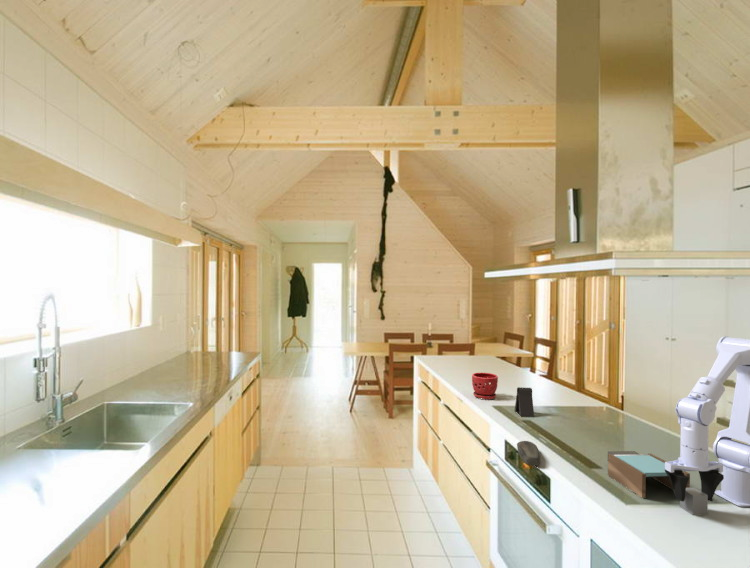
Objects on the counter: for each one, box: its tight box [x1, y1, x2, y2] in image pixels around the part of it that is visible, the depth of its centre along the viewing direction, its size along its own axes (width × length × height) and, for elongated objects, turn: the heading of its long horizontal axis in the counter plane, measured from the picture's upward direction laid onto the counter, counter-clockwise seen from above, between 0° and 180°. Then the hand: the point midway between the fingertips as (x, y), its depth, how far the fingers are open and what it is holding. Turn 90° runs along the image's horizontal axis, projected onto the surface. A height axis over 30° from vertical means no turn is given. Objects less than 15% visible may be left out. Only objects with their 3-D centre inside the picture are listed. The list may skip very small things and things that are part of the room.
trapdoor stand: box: [607, 453, 691, 499], centre depth 119 cm, size 14×14×6 cm
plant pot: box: [471, 372, 499, 400], centre depth 216 cm, size 13×13×12 cm
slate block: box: [679, 487, 709, 516], centre depth 105 cm, size 4×4×5 cm
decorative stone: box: [516, 440, 541, 466], centre depth 138 cm, size 17×6×4 cm, turn 168°
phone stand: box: [514, 386, 535, 418], centre depth 188 cm, size 9×6×12 cm, turn 179°
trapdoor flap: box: [607, 450, 668, 476], centre depth 121 cm, size 11×17×4 cm, turn 5°
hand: (693, 499), depth 105 cm, fingers open, 7 cm apart
